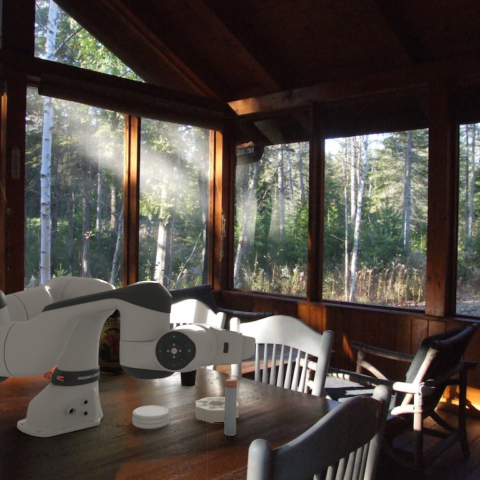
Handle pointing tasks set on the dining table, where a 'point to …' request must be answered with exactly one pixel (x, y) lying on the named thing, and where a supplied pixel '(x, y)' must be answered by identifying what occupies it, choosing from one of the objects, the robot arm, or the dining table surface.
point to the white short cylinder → (150, 417)
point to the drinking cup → (188, 378)
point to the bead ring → (212, 409)
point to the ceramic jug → (110, 346)
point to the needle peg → (230, 407)
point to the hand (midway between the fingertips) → (217, 340)
